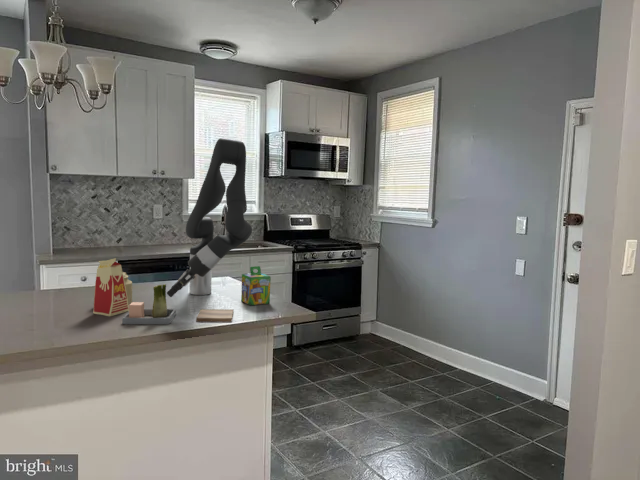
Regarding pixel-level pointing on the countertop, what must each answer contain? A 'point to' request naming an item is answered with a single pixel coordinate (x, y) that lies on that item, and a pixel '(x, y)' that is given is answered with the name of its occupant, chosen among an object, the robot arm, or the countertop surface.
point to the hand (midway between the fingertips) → (170, 292)
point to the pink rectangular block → (136, 310)
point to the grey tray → (150, 320)
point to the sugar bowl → (128, 288)
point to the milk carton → (110, 289)
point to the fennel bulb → (159, 302)
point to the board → (215, 315)
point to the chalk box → (255, 287)
